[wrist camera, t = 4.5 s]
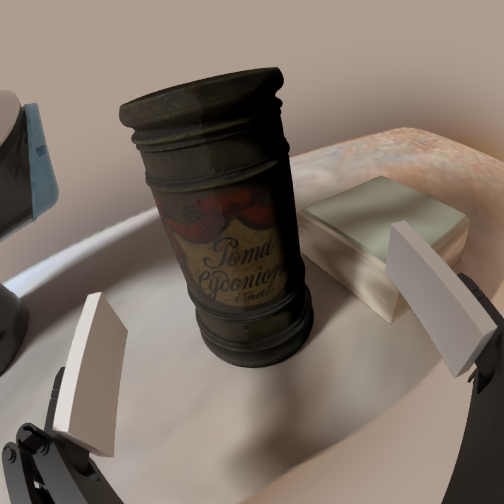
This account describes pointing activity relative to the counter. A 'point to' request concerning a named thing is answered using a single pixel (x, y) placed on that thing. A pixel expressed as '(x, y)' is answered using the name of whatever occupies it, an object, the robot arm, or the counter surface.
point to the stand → (377, 237)
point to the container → (229, 209)
